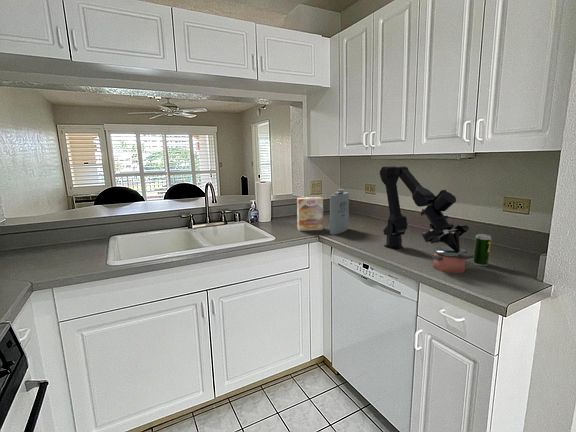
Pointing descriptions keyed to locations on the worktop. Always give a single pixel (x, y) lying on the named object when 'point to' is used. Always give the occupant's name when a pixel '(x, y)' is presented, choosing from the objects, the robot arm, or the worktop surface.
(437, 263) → the cooker pot
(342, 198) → the flask
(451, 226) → the robot arm
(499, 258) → the worktop surface
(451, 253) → the cooker lid
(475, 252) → the beer can
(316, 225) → the coffeecake box
